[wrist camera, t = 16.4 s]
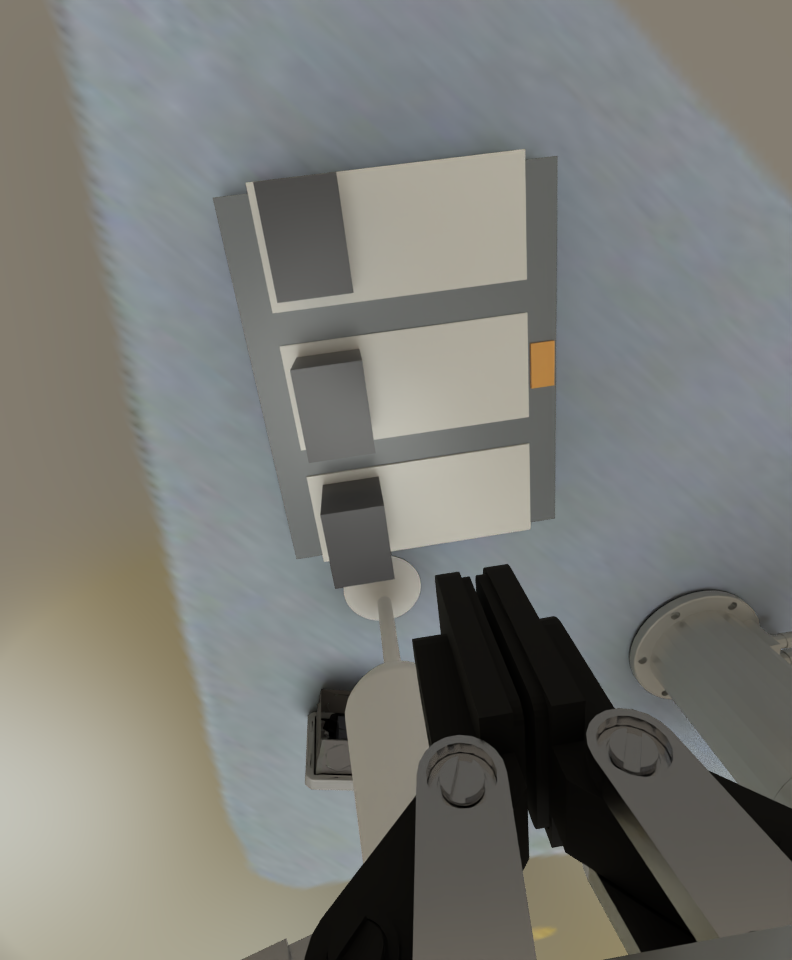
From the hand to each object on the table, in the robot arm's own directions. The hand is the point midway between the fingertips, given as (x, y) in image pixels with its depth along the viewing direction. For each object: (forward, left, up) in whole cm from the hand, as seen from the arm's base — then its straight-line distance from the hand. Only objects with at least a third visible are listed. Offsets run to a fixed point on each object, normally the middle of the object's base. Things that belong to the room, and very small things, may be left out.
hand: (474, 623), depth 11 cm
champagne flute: (+2, +18, -27) cm, 33 cm away
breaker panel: (-2, 0, -27) cm, 27 cm away
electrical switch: (+6, +30, -27) cm, 41 cm away
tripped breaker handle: (+3, 0, -24) cm, 24 cm away
